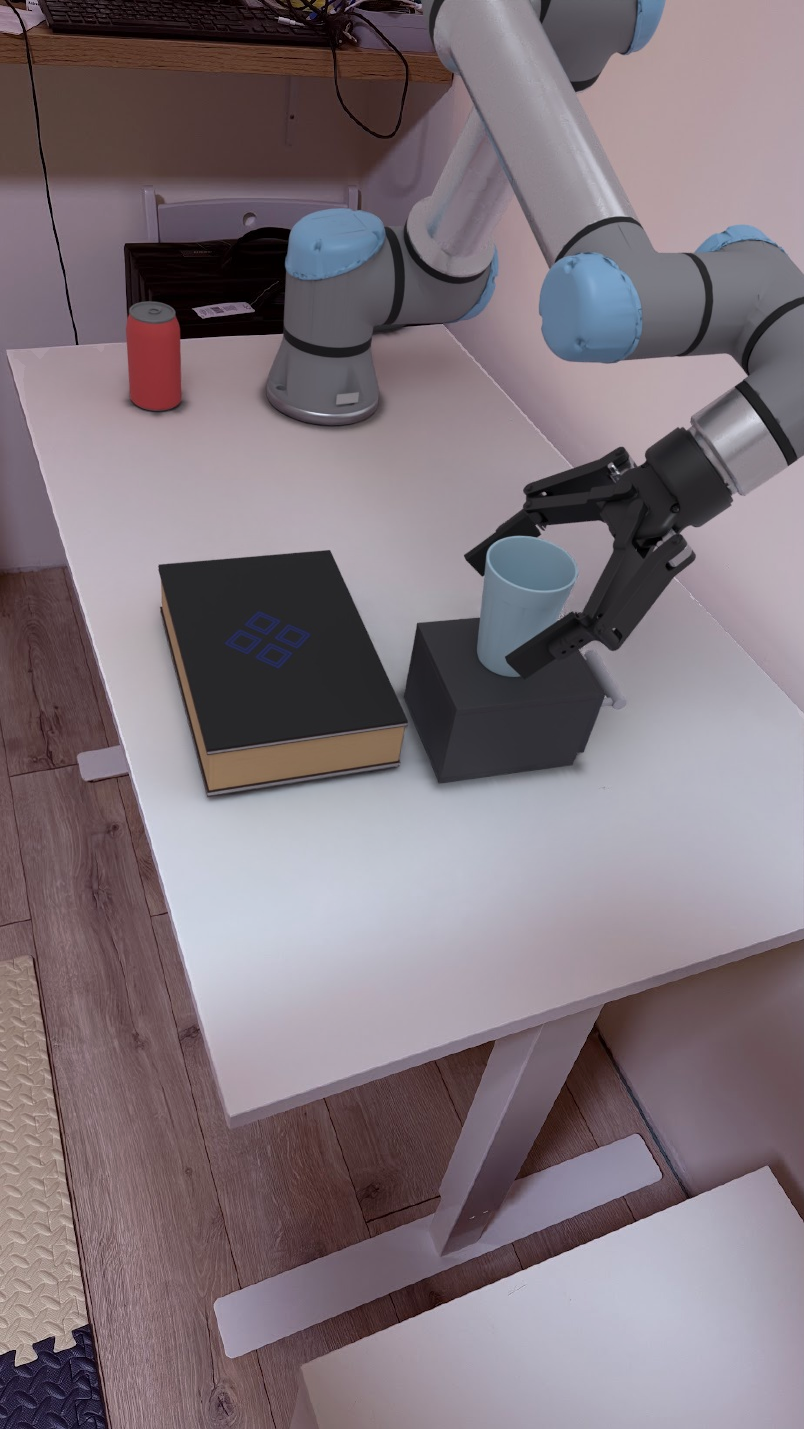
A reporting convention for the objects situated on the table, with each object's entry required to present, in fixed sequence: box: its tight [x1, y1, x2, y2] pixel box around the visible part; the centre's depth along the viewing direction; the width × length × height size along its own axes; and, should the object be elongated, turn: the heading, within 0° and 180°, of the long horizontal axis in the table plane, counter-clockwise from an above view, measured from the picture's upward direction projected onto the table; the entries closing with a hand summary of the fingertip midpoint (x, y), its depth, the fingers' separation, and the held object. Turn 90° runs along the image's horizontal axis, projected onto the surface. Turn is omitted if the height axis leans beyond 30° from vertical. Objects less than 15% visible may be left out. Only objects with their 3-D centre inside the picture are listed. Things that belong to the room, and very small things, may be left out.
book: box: [157, 549, 409, 798], centre depth 95 cm, size 17×25×7 cm
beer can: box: [125, 300, 182, 412], centre depth 128 cm, size 7×7×12 cm
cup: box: [477, 536, 579, 677], centre depth 87 cm, size 8×8×10 cm
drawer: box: [575, 649, 627, 754], centre depth 95 cm, size 16×10×8 cm, turn 107°
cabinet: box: [403, 616, 599, 784], centre depth 94 cm, size 13×11×9 cm
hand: (492, 614), depth 86 cm, fingers open, 13 cm apart
